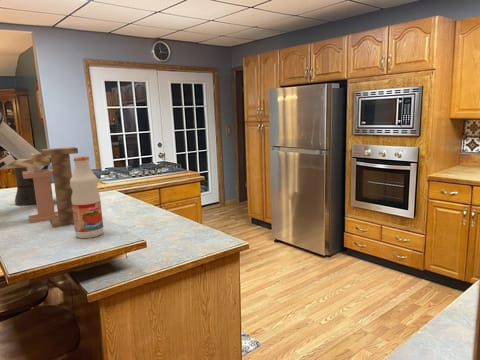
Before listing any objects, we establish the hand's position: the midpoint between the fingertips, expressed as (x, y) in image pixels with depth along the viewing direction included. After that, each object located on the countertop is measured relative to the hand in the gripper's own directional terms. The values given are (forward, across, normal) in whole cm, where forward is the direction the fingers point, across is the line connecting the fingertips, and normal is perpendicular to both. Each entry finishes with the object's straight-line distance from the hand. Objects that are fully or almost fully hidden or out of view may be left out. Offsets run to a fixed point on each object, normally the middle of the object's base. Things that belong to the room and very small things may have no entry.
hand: (12, 157), depth 146 cm
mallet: (0, 0, -5) cm, 5 cm away
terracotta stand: (-5, 0, -28) cm, 29 cm away
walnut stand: (0, +13, -31) cm, 34 cm away
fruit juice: (+4, +37, -34) cm, 50 cm away
